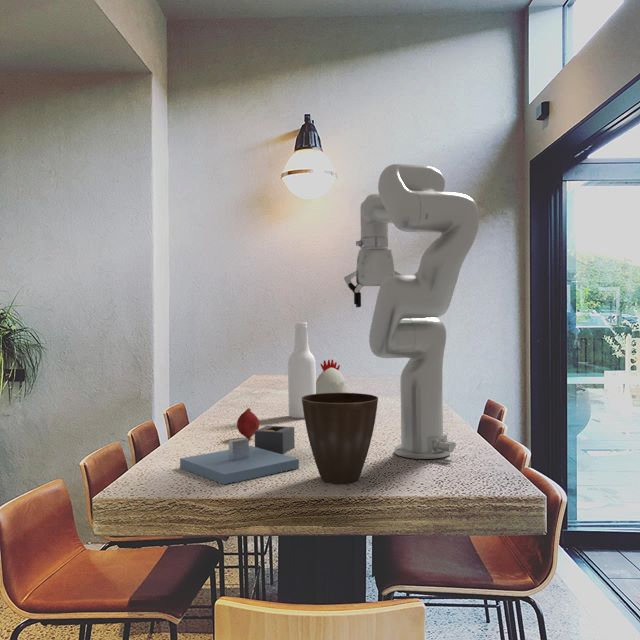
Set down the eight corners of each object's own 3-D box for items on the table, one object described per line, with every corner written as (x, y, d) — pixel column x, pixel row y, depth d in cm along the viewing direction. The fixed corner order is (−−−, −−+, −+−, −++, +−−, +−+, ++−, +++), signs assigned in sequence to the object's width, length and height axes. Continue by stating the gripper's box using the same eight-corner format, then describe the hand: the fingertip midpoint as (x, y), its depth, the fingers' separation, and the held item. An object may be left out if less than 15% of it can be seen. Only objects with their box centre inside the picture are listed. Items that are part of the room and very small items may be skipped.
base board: (298, 468, 127) (298, 458, 127) (224, 484, 115) (224, 474, 115) (250, 454, 141) (250, 445, 141) (180, 467, 129) (180, 458, 129)
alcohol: (300, 419, 187) (298, 322, 187) (283, 416, 194) (281, 322, 194) (322, 416, 193) (320, 322, 192) (304, 413, 199) (303, 322, 199)
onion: (238, 441, 156) (238, 410, 156) (235, 437, 161) (235, 407, 161) (261, 439, 157) (260, 409, 157) (257, 435, 163) (256, 406, 163)
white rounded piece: (307, 397, 240) (307, 359, 240) (338, 394, 246) (338, 357, 246) (322, 401, 228) (322, 361, 228) (355, 398, 234) (354, 359, 234)
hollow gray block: (294, 447, 148) (294, 426, 147) (283, 453, 141) (282, 431, 141) (267, 445, 150) (267, 424, 150) (254, 452, 143) (254, 430, 143)
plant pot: (374, 468, 126) (373, 391, 126) (384, 488, 111) (383, 401, 111) (302, 470, 126) (301, 393, 126) (303, 490, 111) (301, 403, 111)
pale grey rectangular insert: (249, 457, 129) (248, 439, 129) (232, 460, 126) (232, 441, 126) (244, 456, 130) (244, 437, 130) (228, 459, 127) (228, 440, 127)
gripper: (346, 243, 163) (347, 307, 163) (408, 243, 166) (409, 306, 166) (341, 246, 170) (342, 307, 170) (400, 247, 173) (401, 306, 173)
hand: (375, 307), depth 168 cm, fingers open, 9 cm apart
